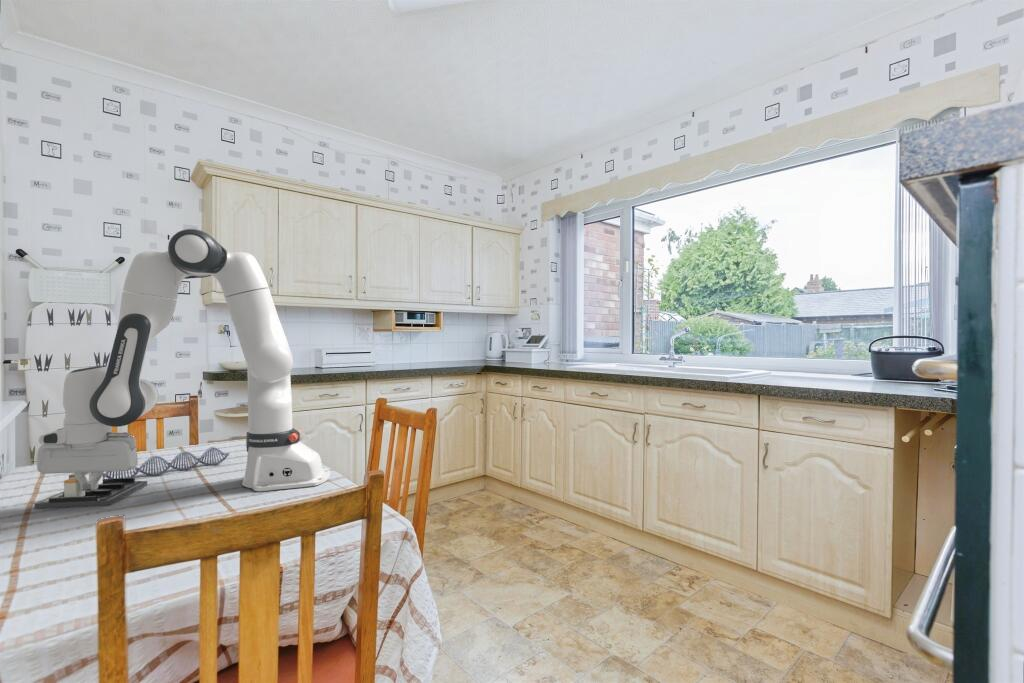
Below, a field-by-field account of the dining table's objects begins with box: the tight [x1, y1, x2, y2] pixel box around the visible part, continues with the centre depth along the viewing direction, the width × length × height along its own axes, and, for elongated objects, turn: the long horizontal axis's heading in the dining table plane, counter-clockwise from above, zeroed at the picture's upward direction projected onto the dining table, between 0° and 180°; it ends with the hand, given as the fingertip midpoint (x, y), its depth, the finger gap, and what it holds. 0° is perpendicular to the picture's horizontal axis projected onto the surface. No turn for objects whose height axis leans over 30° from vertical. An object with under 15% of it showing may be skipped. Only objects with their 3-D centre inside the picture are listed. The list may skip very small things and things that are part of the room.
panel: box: [34, 477, 148, 509], centre depth 123 cm, size 16×15×2 cm
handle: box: [89, 472, 103, 484], centre depth 128 cm, size 2×3×5 cm
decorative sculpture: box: [103, 446, 230, 479], centre depth 143 cm, size 6×31×6 cm, turn 136°
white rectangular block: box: [68, 472, 89, 481], centre depth 123 cm, size 2×3×5 cm
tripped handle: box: [63, 477, 85, 497], centre depth 118 cm, size 2×3×5 cm
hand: (89, 489), depth 118 cm, fingers closed
